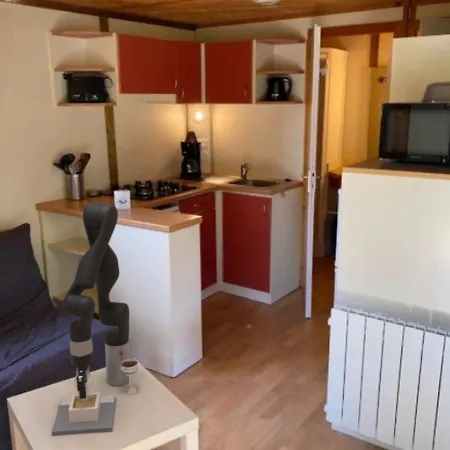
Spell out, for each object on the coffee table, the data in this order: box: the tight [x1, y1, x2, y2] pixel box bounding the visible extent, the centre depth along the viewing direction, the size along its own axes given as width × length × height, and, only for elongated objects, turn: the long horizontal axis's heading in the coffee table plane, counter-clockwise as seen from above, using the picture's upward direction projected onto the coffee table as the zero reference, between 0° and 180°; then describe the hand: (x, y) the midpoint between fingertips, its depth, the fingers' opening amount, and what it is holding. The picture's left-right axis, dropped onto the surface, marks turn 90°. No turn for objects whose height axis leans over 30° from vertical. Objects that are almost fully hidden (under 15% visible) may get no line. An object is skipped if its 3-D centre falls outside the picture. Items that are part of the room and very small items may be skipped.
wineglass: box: [120, 357, 139, 395], centre depth 198 cm, size 7×7×12 cm
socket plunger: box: [74, 398, 96, 408], centre depth 183 cm, size 7×7×2 cm
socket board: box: [51, 392, 117, 436], centre depth 183 cm, size 18×20×6 cm
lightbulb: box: [73, 372, 94, 401], centre depth 180 cm, size 6×6×11 cm
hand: (84, 392), depth 181 cm, fingers closed on lightbulb, 6 cm apart
